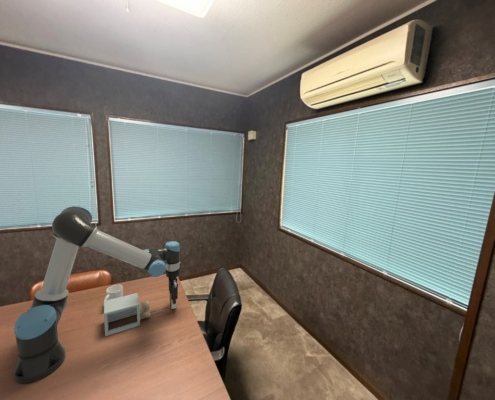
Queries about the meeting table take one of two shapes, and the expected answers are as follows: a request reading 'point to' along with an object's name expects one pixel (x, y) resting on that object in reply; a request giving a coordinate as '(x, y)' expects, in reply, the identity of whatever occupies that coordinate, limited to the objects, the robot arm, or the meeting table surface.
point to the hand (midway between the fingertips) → (173, 305)
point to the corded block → (146, 308)
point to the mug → (114, 292)
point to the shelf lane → (121, 312)
